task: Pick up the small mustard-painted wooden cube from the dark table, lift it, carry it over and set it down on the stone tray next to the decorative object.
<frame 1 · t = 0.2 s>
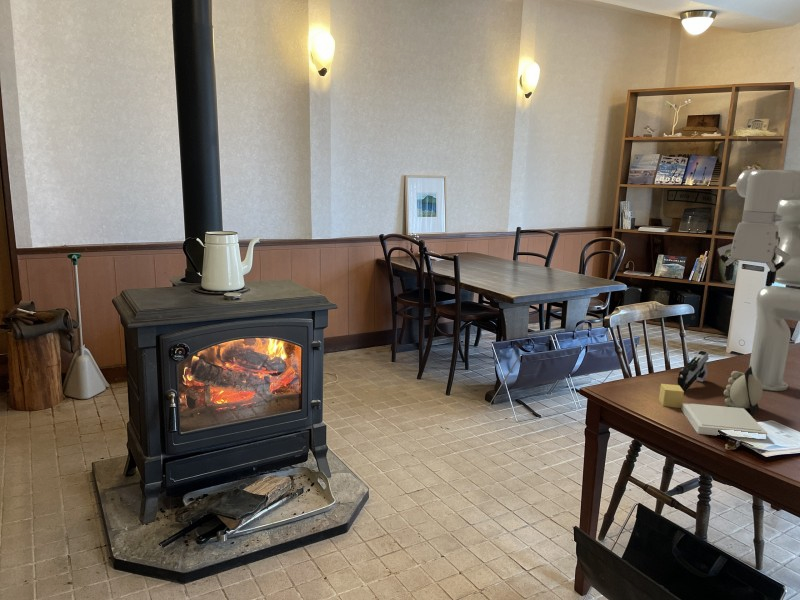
hand: (748, 282, 160), 37 cm above the table, tool pointing down, fingers open, 9 cm apart
decorative object: (739, 409, 170), on the table
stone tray: (721, 424, 159), on the table
mustard cube: (670, 403, 173), on the table
toy gun: (691, 387, 187), on the table
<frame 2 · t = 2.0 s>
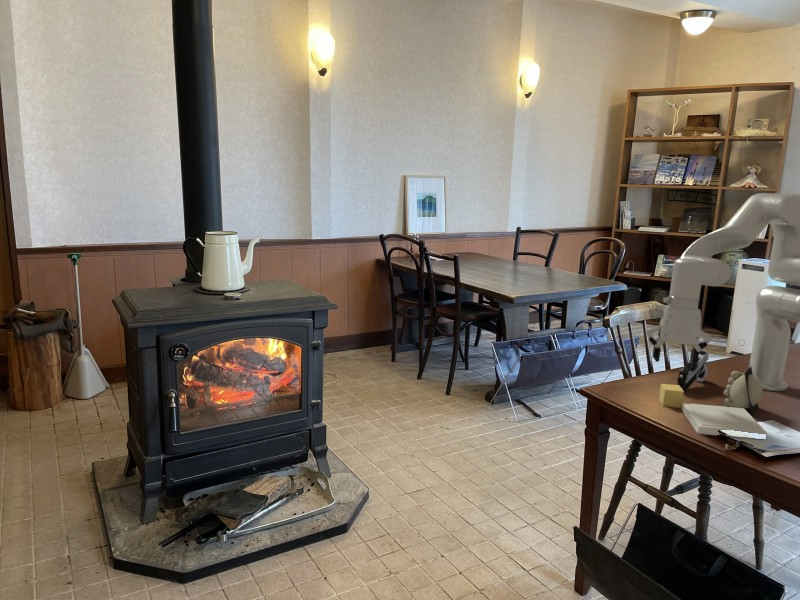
hand: (674, 362, 170), 13 cm above the table, tool pointing down, fingers open, 9 cm apart
nothing on the table moved.
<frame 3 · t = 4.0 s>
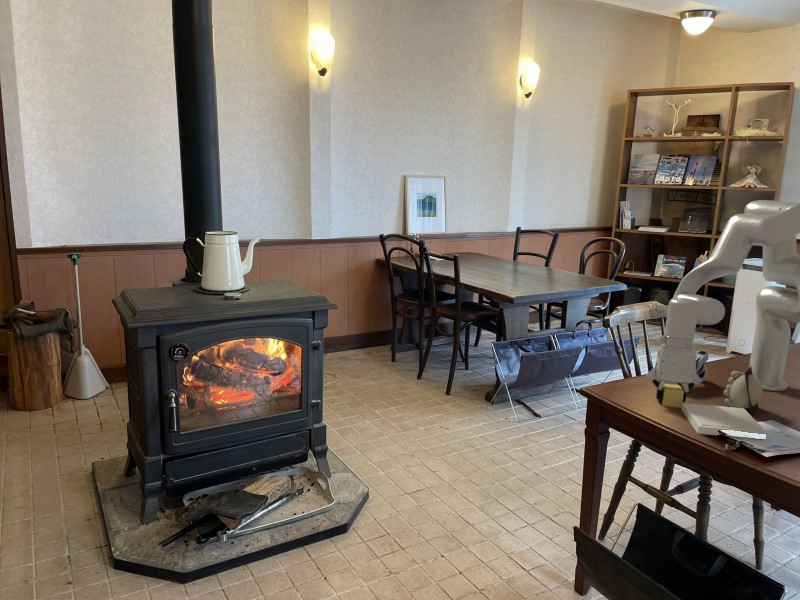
hand: (670, 401, 173), 0 cm above the table, tool pointing down, fingers closed on mustard cube, 5 cm apart
mustard cube: (670, 403, 173), on the table, touching gripper
everything else where it was.
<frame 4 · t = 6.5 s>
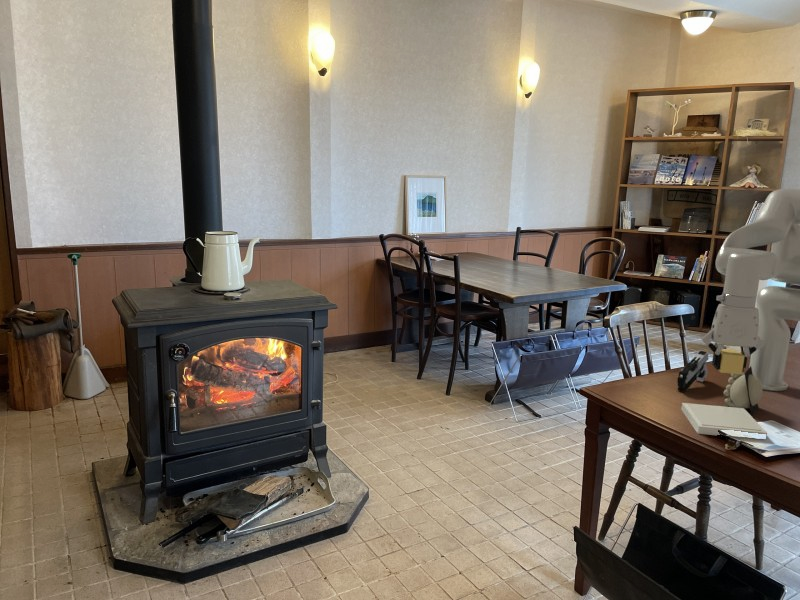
hand: (728, 368, 156), 15 cm above the table, tool pointing down, fingers closed on mustard cube, 5 cm apart
mustard cube: (727, 370, 156), point 15 cm above the table, touching gripper
everything else where it was.
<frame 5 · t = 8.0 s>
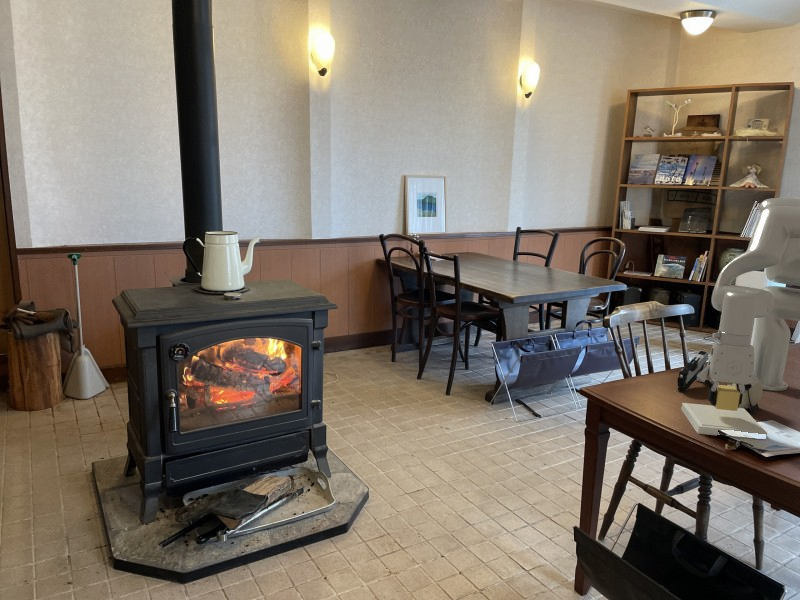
hand: (723, 404, 158), 6 cm above the table, tool pointing down, fingers closed on mustard cube, 5 cm apart
mustard cube: (723, 406, 158), point 5 cm above the table, touching gripper
everything else where it was.
when the fingers open (4 cm above the table, at t = 9.1 s): mustard cube drops 1 cm, resting on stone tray.
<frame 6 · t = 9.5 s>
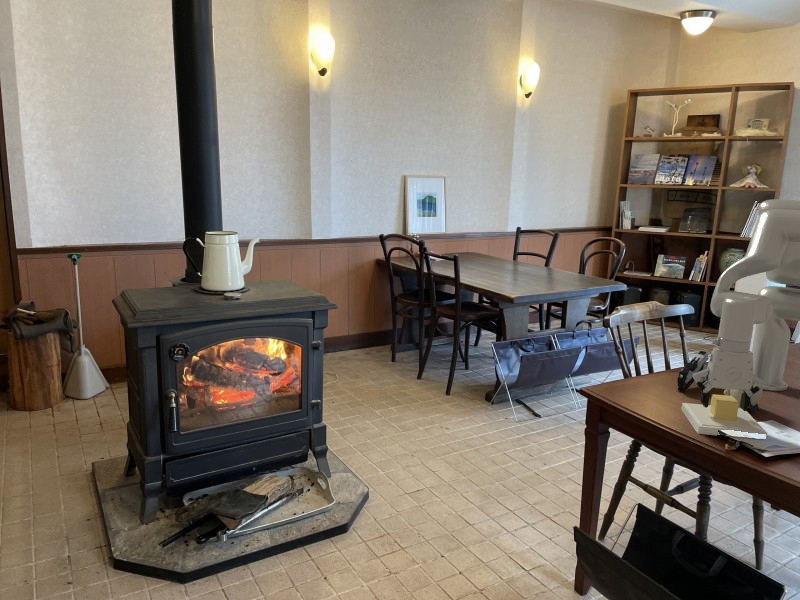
hand: (723, 407, 158), 5 cm above the table, tool pointing down, fingers open, 9 cm apart
mustard cube: (722, 416, 159), point 2 cm above the table, touching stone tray
everything else where it was.
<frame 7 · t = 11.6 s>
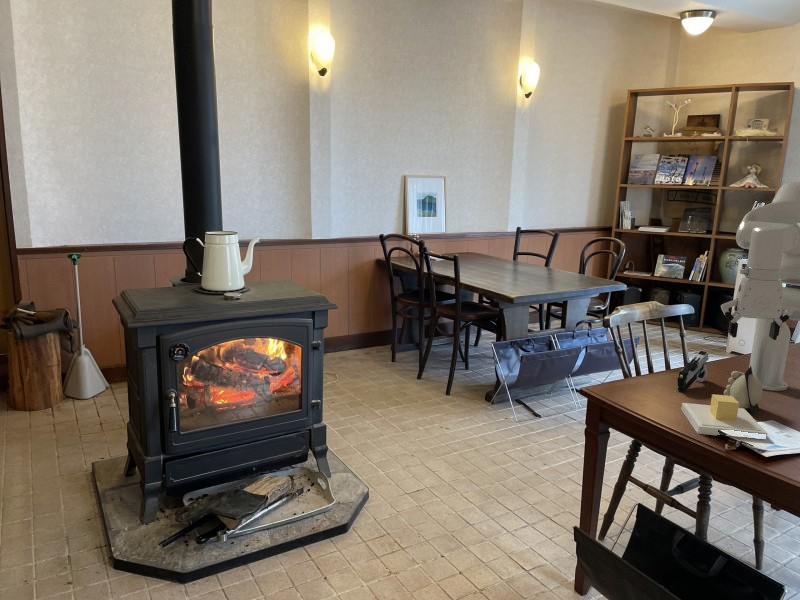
hand: (752, 337, 159), 23 cm above the table, tool pointing down, fingers open, 9 cm apart
nothing on the table moved.
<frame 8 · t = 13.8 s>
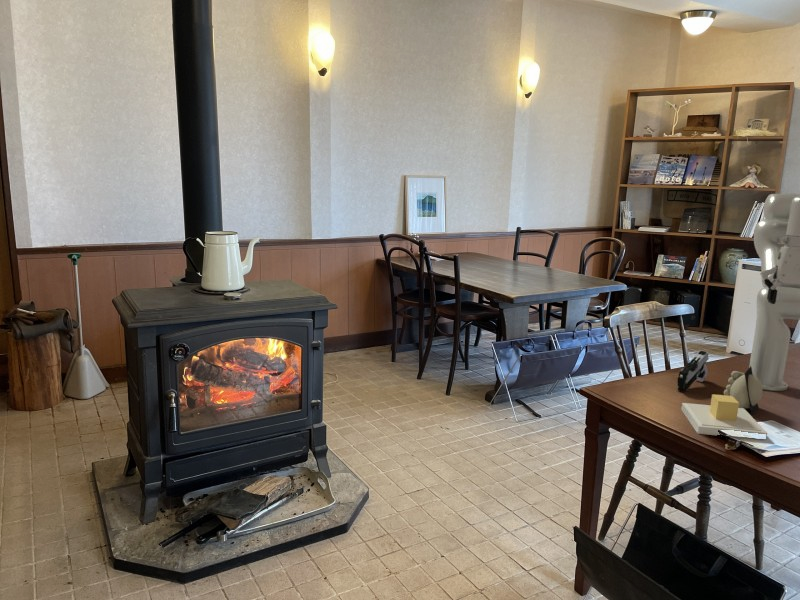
hand: (790, 304, 166), 30 cm above the table, tool pointing down, fingers open, 9 cm apart
nothing on the table moved.
at the end: mustard cube inside the target area on the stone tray (0.1 cm from its centre), point 2.2 cm above the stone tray's base; mustard cube tilted 0°; the gripper is holding nothing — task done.
